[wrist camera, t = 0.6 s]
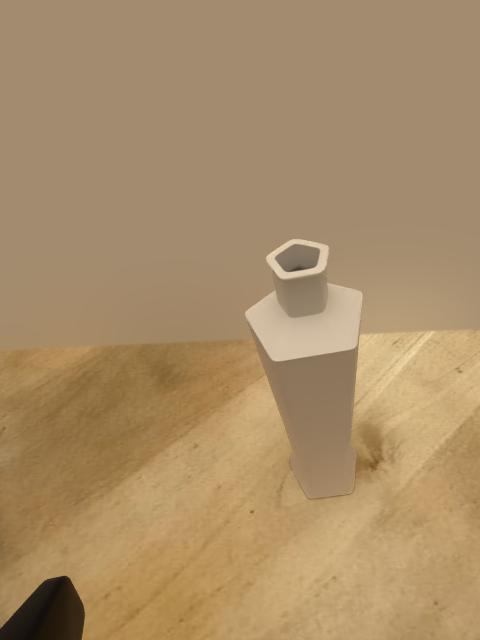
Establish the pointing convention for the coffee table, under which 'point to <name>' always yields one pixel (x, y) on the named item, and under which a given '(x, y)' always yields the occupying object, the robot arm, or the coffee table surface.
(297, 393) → the white pentagonal vase
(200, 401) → the coffee table surface
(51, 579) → the robot arm
